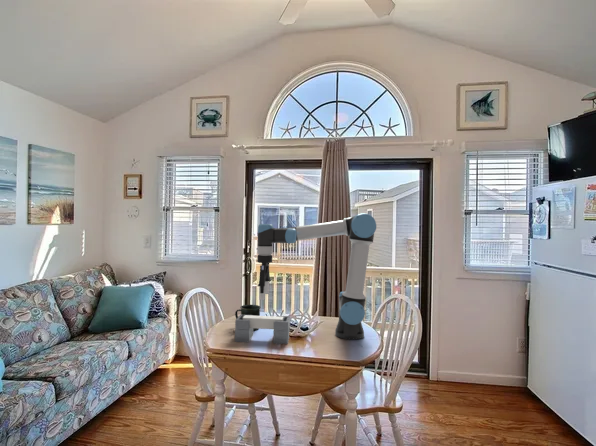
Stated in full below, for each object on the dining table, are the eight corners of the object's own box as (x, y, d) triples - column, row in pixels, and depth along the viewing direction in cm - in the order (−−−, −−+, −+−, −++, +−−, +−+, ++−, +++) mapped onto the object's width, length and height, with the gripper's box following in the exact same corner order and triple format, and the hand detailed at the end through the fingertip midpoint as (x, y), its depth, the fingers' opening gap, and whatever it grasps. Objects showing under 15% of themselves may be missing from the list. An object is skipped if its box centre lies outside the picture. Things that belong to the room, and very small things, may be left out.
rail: (283, 326, 178) (283, 316, 178) (282, 329, 173) (282, 319, 173) (244, 324, 179) (244, 315, 179) (242, 327, 174) (242, 317, 174)
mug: (255, 332, 187) (256, 310, 187) (230, 329, 191) (231, 307, 191) (263, 326, 197) (263, 305, 197) (239, 324, 201) (239, 303, 201)
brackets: (289, 336, 181) (289, 316, 181) (287, 343, 170) (288, 322, 170) (239, 334, 183) (240, 314, 183) (234, 341, 172) (235, 320, 172)
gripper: (261, 252, 189) (261, 291, 189) (252, 256, 164) (252, 301, 164) (275, 252, 189) (274, 291, 189) (268, 257, 164) (268, 302, 164)
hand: (264, 296), depth 176 cm, fingers open, 13 cm apart
